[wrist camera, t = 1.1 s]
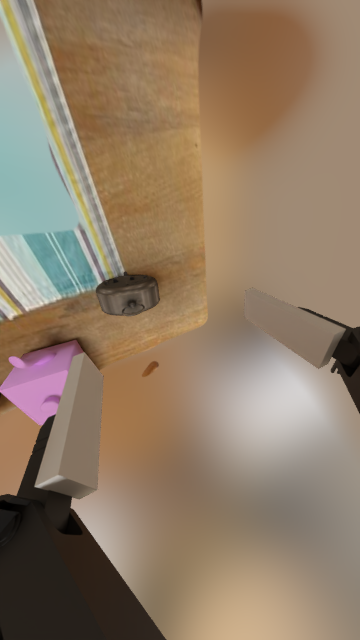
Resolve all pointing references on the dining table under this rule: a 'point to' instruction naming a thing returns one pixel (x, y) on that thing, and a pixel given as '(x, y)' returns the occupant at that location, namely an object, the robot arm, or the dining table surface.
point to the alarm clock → (128, 294)
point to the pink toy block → (40, 379)
